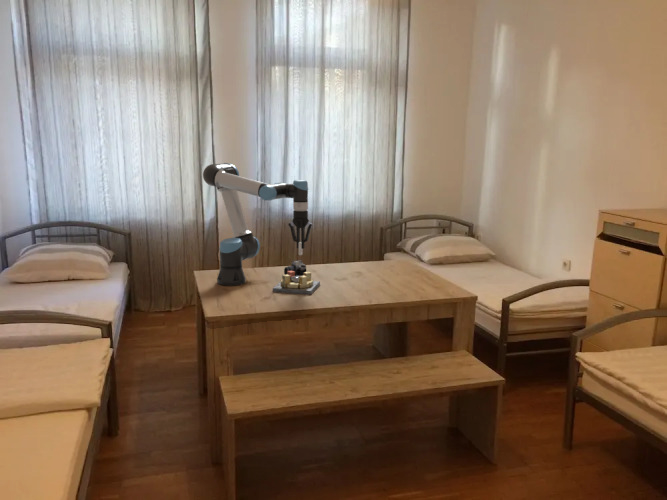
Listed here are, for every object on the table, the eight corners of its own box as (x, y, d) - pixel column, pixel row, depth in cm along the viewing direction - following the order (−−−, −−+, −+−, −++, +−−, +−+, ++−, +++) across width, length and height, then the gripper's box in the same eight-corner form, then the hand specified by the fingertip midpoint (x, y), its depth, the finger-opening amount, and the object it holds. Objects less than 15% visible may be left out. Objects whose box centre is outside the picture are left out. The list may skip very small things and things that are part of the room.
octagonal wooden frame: (277, 287, 294) (277, 276, 293) (286, 279, 310) (286, 269, 309) (308, 289, 291) (308, 278, 290) (315, 281, 306) (315, 271, 305)
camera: (280, 276, 326) (280, 258, 324) (296, 274, 331) (297, 257, 329) (291, 282, 313) (291, 264, 311) (308, 280, 317) (308, 262, 315)
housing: (272, 291, 293) (272, 280, 292) (283, 282, 312) (284, 271, 311) (310, 294, 289) (310, 283, 288) (319, 284, 308) (320, 274, 307)
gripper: (286, 210, 297) (286, 255, 301) (311, 211, 294) (310, 256, 299) (290, 208, 304) (290, 252, 308) (314, 209, 301) (314, 253, 306)
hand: (300, 254), depth 303 cm, fingers closed
